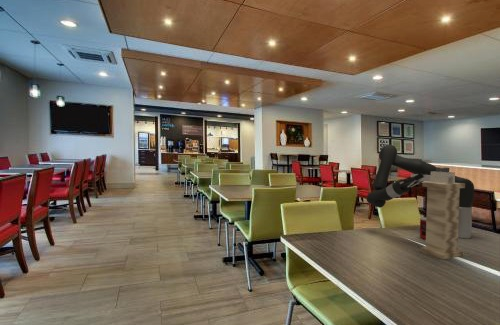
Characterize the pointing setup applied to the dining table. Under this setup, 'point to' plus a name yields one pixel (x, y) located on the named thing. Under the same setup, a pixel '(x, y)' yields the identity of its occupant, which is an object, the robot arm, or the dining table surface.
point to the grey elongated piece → (439, 176)
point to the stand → (442, 220)
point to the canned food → (423, 228)
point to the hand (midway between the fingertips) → (424, 175)
